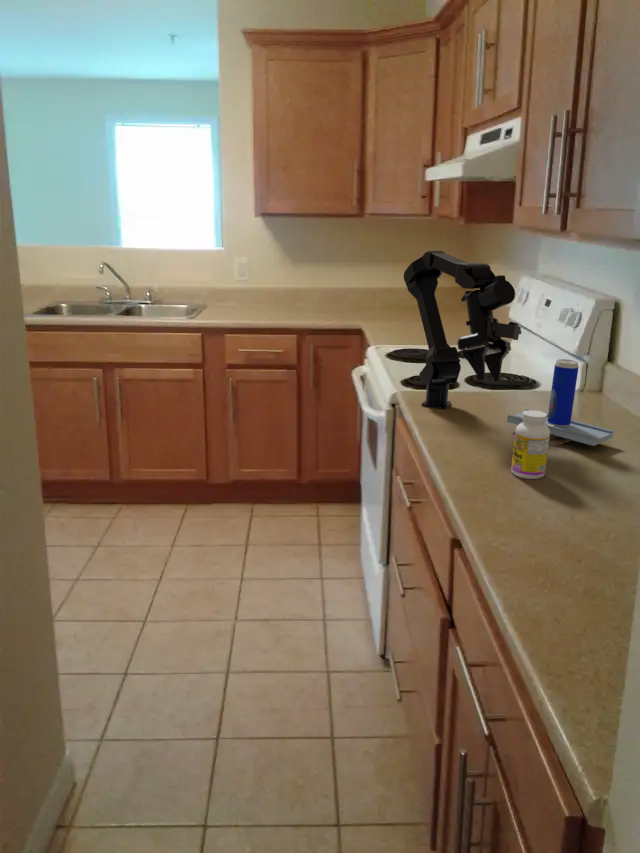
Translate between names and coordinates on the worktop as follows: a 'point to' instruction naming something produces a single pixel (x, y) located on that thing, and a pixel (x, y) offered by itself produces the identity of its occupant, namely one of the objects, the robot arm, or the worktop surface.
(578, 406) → the worktop surface
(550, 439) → the fulcrum
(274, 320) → the worktop surface
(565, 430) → the beam
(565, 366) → the beverage can
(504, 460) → the worktop surface
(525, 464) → the supplement bottle
